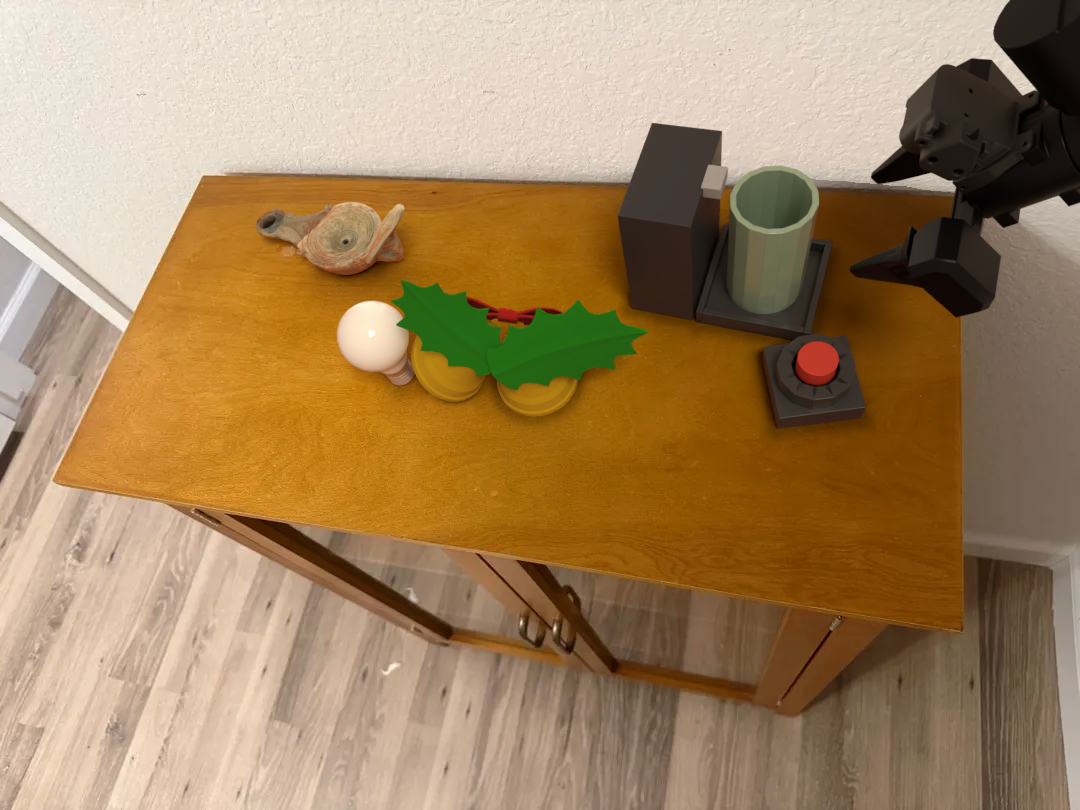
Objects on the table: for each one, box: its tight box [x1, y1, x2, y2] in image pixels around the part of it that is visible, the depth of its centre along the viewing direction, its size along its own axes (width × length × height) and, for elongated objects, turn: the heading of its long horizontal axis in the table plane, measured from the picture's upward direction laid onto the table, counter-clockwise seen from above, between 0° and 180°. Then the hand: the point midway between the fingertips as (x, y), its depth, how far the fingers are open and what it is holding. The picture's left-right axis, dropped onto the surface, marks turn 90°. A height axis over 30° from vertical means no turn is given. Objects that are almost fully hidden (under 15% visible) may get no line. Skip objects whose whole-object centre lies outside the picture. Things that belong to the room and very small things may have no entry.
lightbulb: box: [336, 300, 416, 387], centre depth 71 cm, size 6×6×11 cm
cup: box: [726, 165, 820, 314], centre depth 67 cm, size 7×7×12 cm
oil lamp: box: [255, 201, 406, 276], centre depth 80 cm, size 9×21×10 cm, turn 69°
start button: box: [795, 341, 839, 385], centre depth 63 cm, size 3×3×2 cm
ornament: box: [390, 279, 650, 418], centre depth 68 cm, size 21×8×15 cm, turn 84°
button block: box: [761, 333, 867, 430], centre depth 66 cm, size 7×7×4 cm
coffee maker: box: [617, 122, 834, 341], centre depth 67 cm, size 16×10×14 cm, turn 70°
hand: (863, 224), depth 61 cm, fingers open, 9 cm apart
